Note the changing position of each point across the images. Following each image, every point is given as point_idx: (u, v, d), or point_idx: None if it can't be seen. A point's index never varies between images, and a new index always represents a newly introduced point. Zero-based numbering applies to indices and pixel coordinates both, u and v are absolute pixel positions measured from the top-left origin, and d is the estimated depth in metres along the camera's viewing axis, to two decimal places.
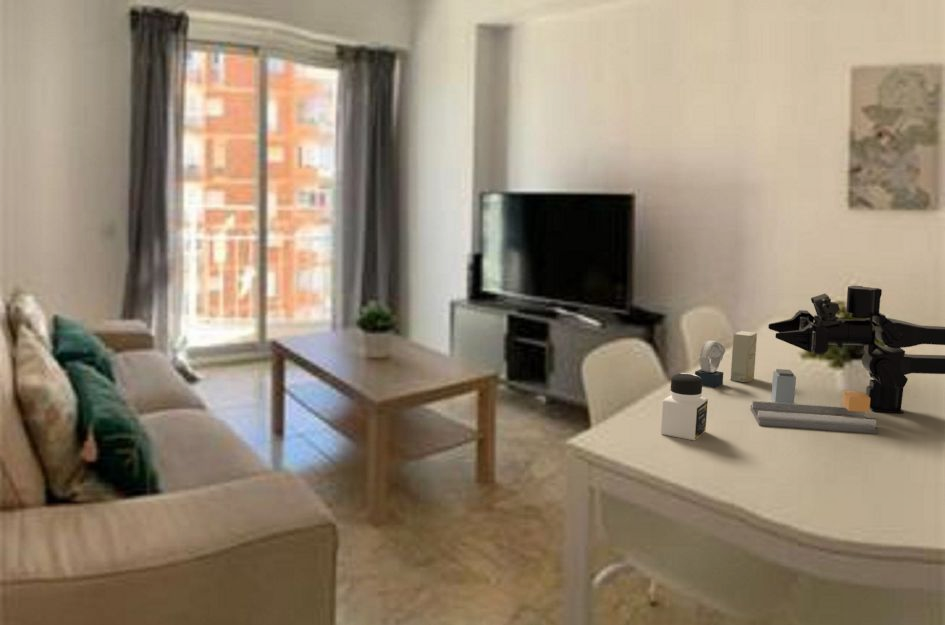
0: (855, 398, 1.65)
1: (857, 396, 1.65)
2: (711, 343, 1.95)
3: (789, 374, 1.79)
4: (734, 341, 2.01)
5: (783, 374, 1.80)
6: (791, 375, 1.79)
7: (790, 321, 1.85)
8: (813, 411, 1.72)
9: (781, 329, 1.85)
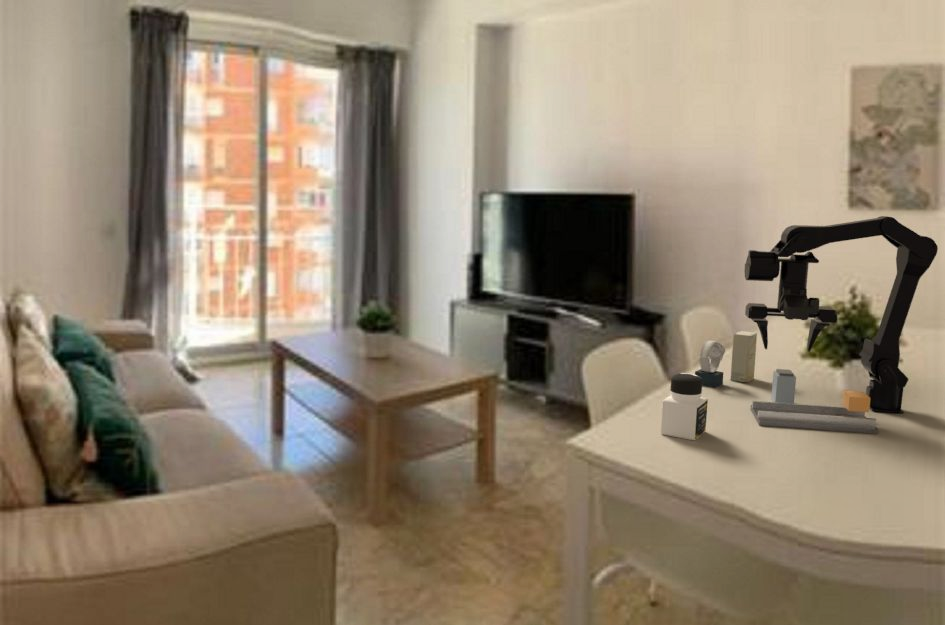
0: (855, 398, 1.65)
1: (857, 396, 1.65)
2: (711, 343, 1.95)
3: (789, 374, 1.79)
4: (734, 341, 2.01)
5: (783, 374, 1.80)
6: (791, 375, 1.79)
7: None
8: (813, 411, 1.72)
9: None
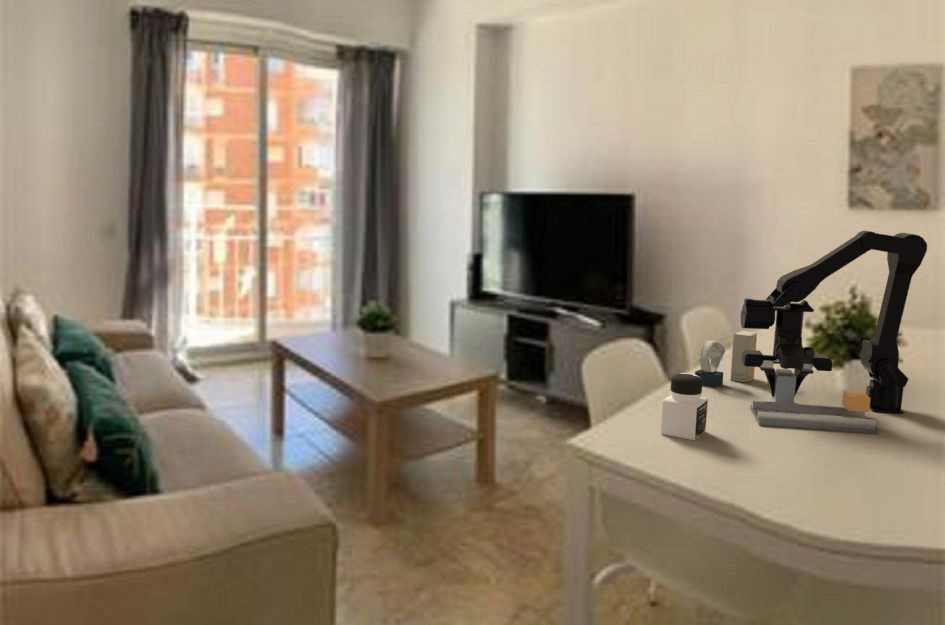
0: (855, 398, 1.65)
1: (857, 396, 1.65)
2: (711, 343, 1.95)
3: (789, 374, 1.79)
4: (734, 341, 2.01)
5: (783, 374, 1.80)
6: (791, 375, 1.79)
7: None
8: (813, 411, 1.72)
9: None
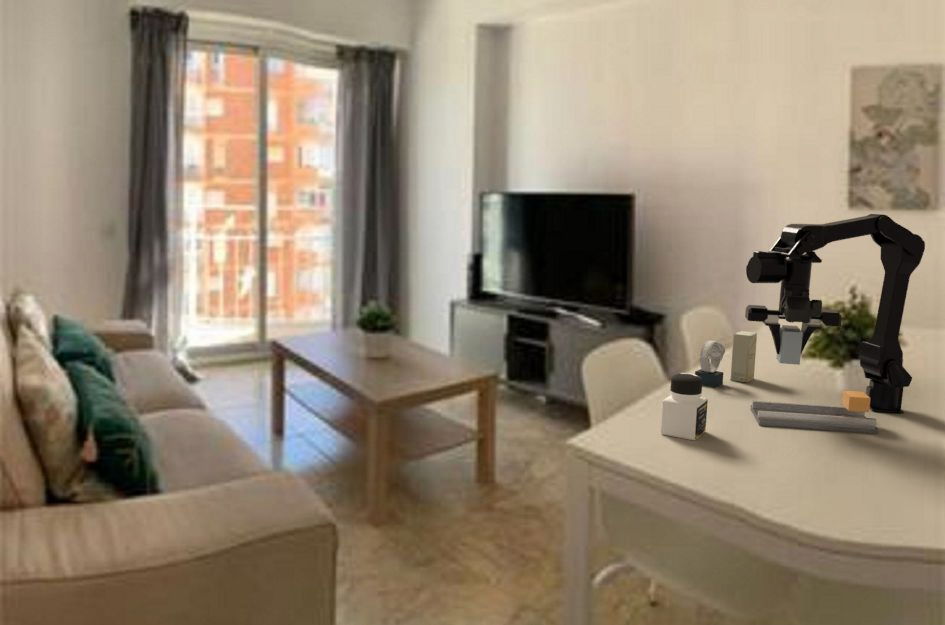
0: (855, 398, 1.65)
1: (857, 396, 1.65)
2: (711, 343, 1.95)
3: (795, 329, 1.69)
4: (734, 341, 2.01)
5: (789, 329, 1.70)
6: (797, 330, 1.69)
7: None
8: (813, 411, 1.72)
9: None
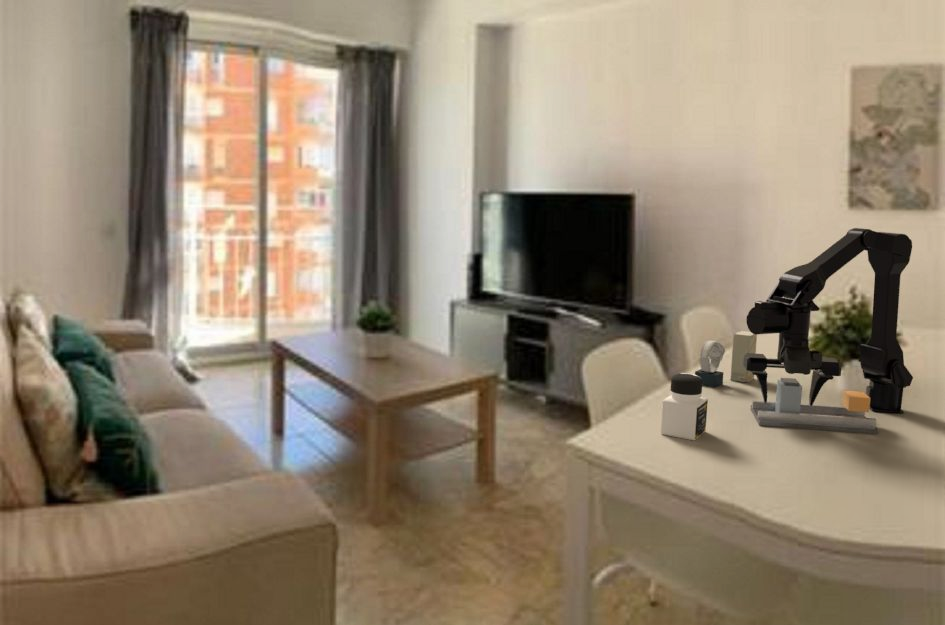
0: (855, 398, 1.65)
1: (857, 396, 1.65)
2: (711, 343, 1.95)
3: (795, 383, 1.67)
4: (734, 341, 2.01)
5: (788, 383, 1.67)
6: (797, 384, 1.67)
7: (766, 381, 1.69)
8: (813, 411, 1.72)
9: None
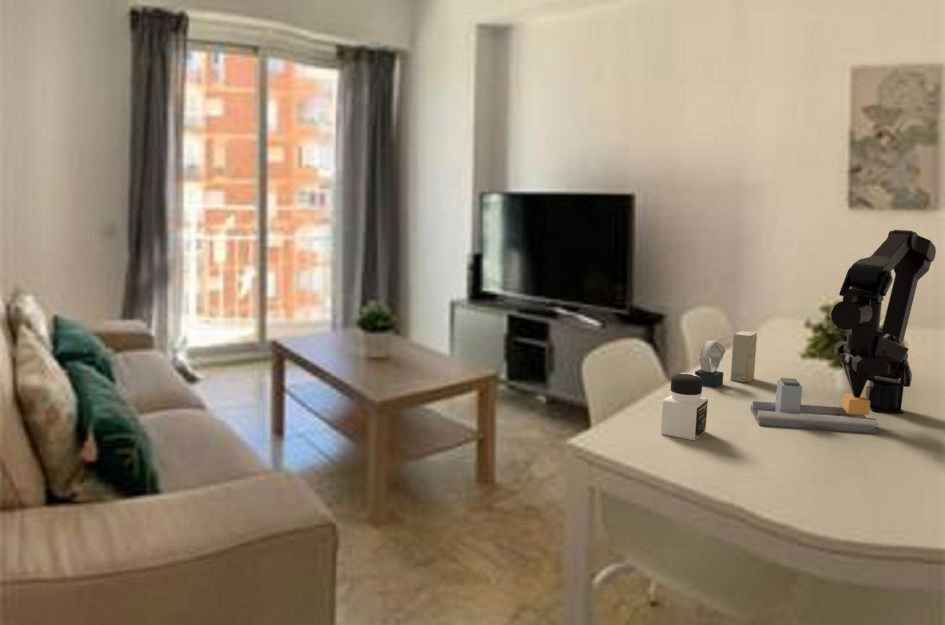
0: (855, 401, 1.65)
1: (857, 399, 1.65)
2: (711, 343, 1.95)
3: (795, 383, 1.67)
4: (734, 341, 2.01)
5: (788, 383, 1.67)
6: (797, 384, 1.67)
7: None
8: (813, 411, 1.72)
9: None
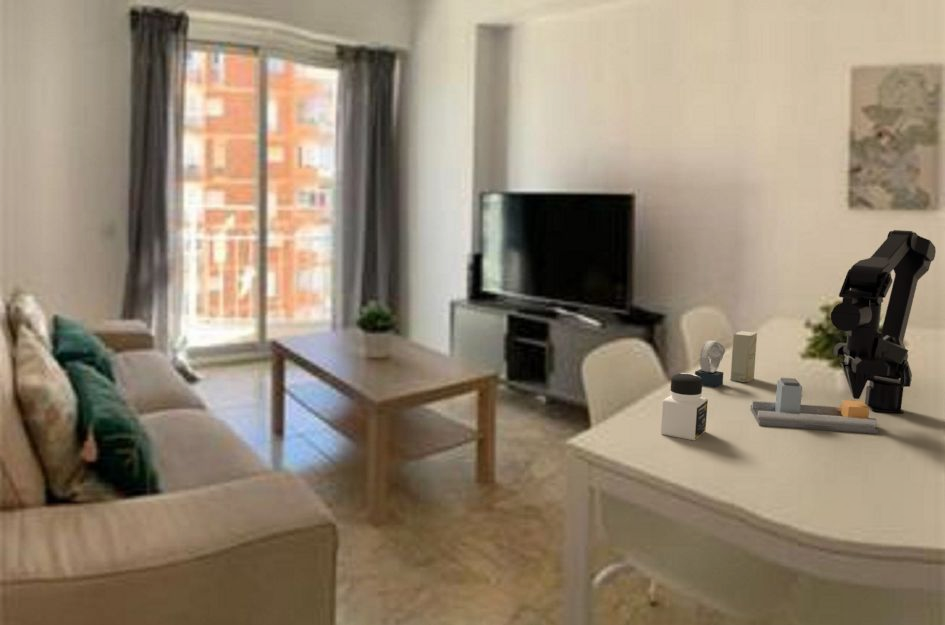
0: (854, 408, 1.65)
1: (856, 406, 1.65)
2: (711, 343, 1.95)
3: (795, 383, 1.67)
4: (734, 341, 2.01)
5: (788, 383, 1.67)
6: (797, 384, 1.67)
7: None
8: (813, 411, 1.72)
9: None
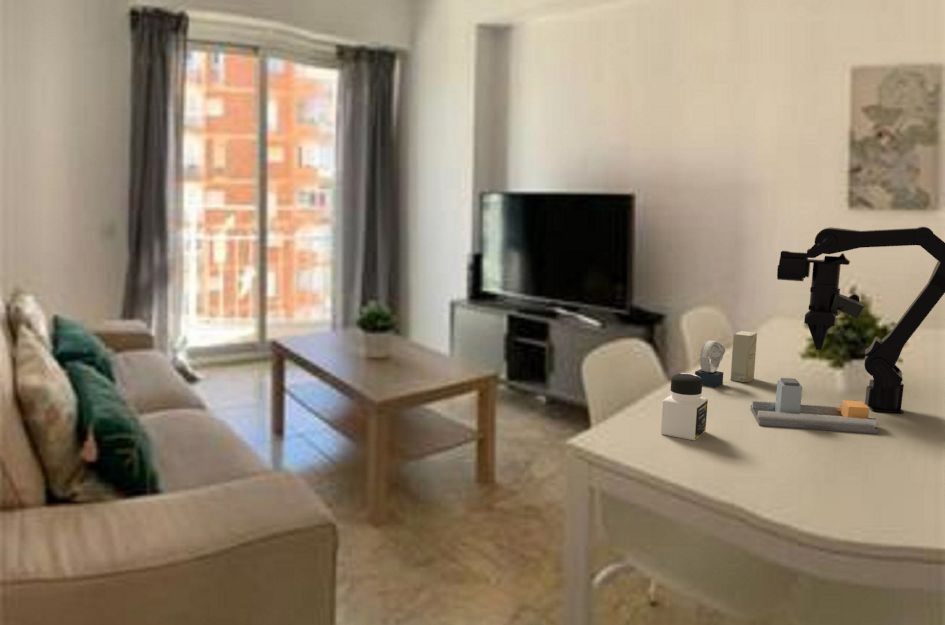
0: (854, 408, 1.65)
1: (856, 406, 1.65)
2: (711, 343, 1.95)
3: (795, 383, 1.67)
4: (734, 341, 2.01)
5: (788, 383, 1.67)
6: (797, 384, 1.67)
7: None
8: (813, 411, 1.72)
9: None
